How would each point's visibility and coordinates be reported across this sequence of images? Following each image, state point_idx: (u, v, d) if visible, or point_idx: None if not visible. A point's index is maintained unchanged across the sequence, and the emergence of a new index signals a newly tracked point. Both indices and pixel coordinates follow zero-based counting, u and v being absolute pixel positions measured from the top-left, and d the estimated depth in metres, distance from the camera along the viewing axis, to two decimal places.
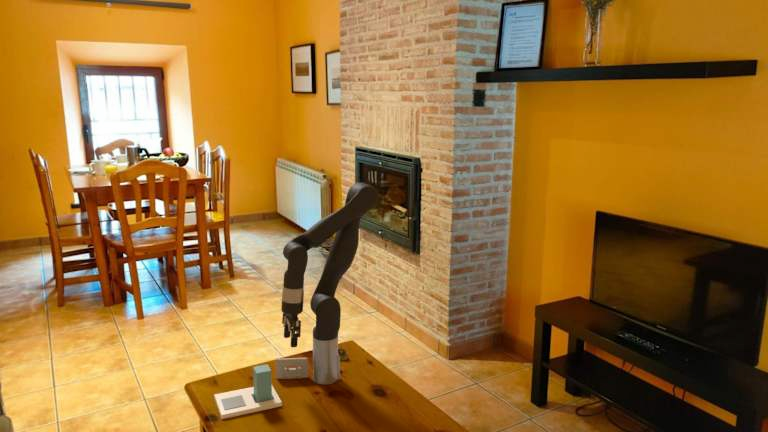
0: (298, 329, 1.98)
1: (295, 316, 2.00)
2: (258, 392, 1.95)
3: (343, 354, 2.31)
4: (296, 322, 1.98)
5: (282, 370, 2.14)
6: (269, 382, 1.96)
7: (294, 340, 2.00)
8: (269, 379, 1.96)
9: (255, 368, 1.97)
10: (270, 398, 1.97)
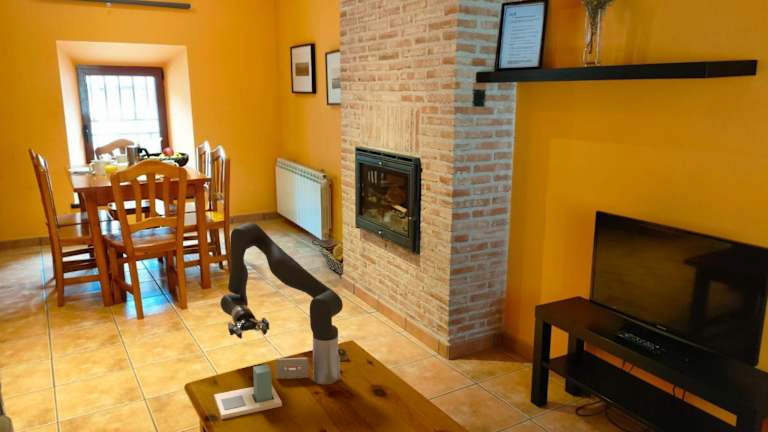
0: (229, 327, 2.09)
1: (236, 323, 2.13)
2: (258, 392, 1.95)
3: (343, 354, 2.31)
4: None
5: (282, 370, 2.14)
6: (269, 382, 1.96)
7: (236, 333, 2.06)
8: (269, 379, 1.96)
9: (255, 368, 1.97)
10: (270, 398, 1.97)
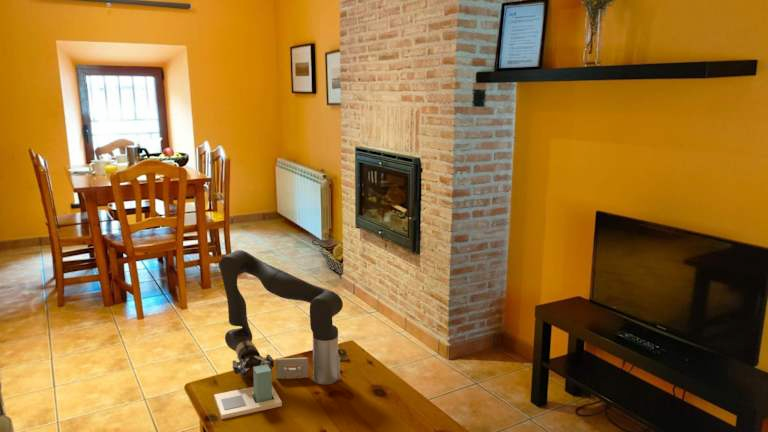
0: (233, 366, 2.07)
1: (240, 361, 2.12)
2: (258, 392, 1.95)
3: (343, 354, 2.31)
4: None
5: (282, 370, 2.14)
6: (269, 382, 1.96)
7: (241, 372, 2.04)
8: (269, 379, 1.96)
9: (255, 368, 1.96)
10: (270, 398, 1.97)
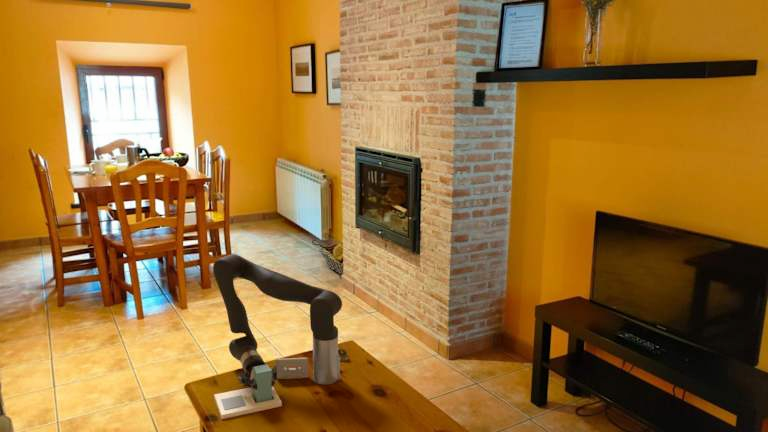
0: (241, 378, 1.99)
1: (245, 371, 2.04)
2: (258, 392, 1.95)
3: (344, 354, 2.30)
4: None
5: (282, 370, 2.14)
6: (269, 382, 1.96)
7: (251, 384, 1.96)
8: (269, 379, 1.96)
9: (255, 368, 1.96)
10: (270, 398, 1.97)
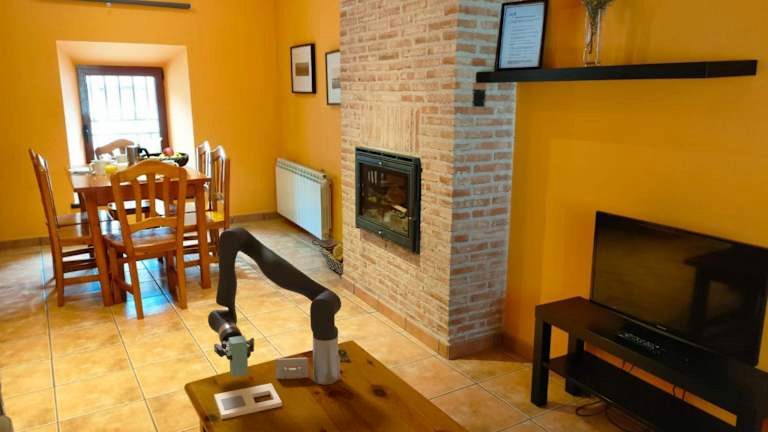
0: (217, 349, 1.94)
1: (222, 343, 1.99)
2: (233, 363, 1.90)
3: (344, 355, 2.30)
4: (214, 348, 1.96)
5: (282, 370, 2.14)
6: (245, 353, 1.91)
7: (226, 355, 1.91)
8: (245, 350, 1.90)
9: (231, 339, 1.91)
10: (246, 370, 1.92)
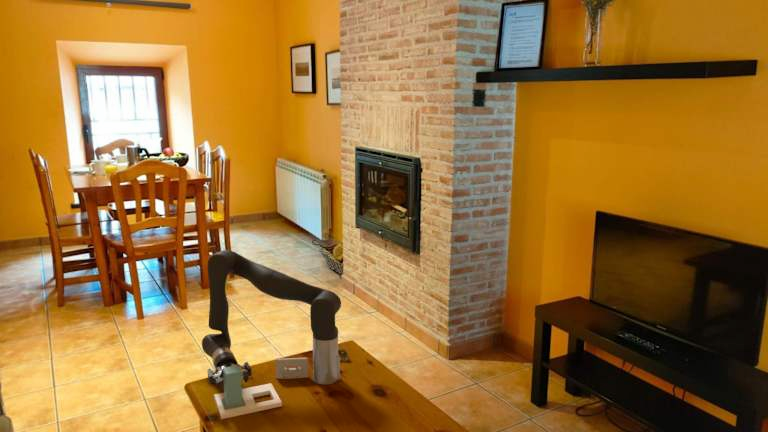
0: (208, 375, 1.94)
1: (216, 369, 1.99)
2: (228, 393, 1.90)
3: (344, 355, 2.30)
4: None
5: (282, 370, 2.14)
6: (239, 383, 1.91)
7: (216, 382, 1.91)
8: (239, 380, 1.91)
9: (225, 369, 1.92)
10: (240, 399, 1.93)
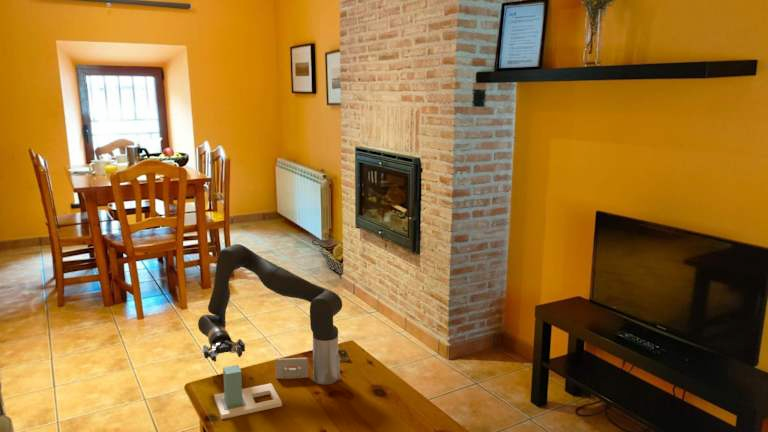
0: (203, 350, 2.06)
1: None
2: (228, 393, 1.90)
3: (344, 355, 2.30)
4: None
5: (282, 370, 2.14)
6: (239, 383, 1.91)
7: (211, 356, 2.03)
8: (239, 380, 1.91)
9: (225, 369, 1.92)
10: (240, 399, 1.93)
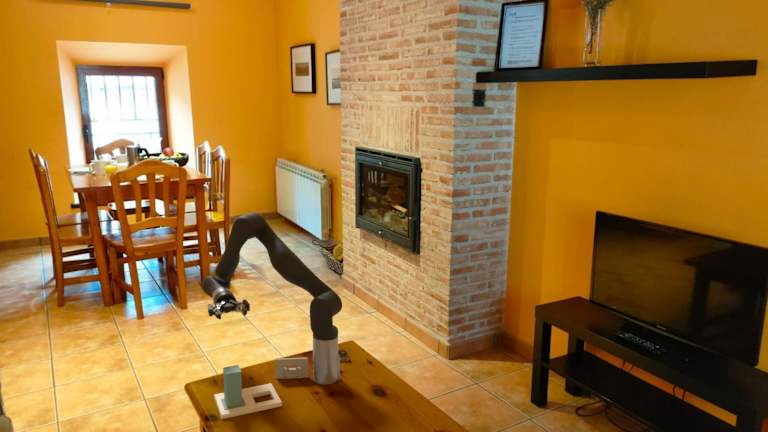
0: (208, 309, 2.04)
1: (216, 305, 2.09)
2: (228, 393, 1.90)
3: (345, 355, 2.30)
4: None
5: (282, 370, 2.14)
6: (239, 383, 1.91)
7: (215, 314, 2.01)
8: (239, 380, 1.91)
9: (225, 369, 1.92)
10: (240, 399, 1.93)
